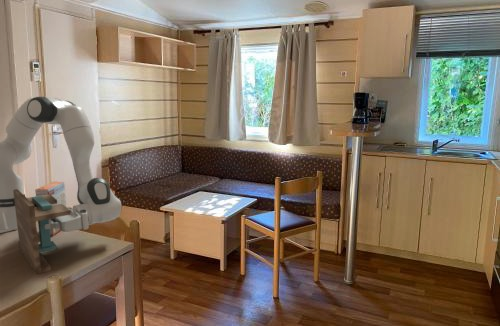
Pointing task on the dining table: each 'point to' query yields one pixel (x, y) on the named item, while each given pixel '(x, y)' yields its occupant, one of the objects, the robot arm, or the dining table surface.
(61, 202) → the cracker box
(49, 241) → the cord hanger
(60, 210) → the wall shelf
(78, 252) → the dining table surface
